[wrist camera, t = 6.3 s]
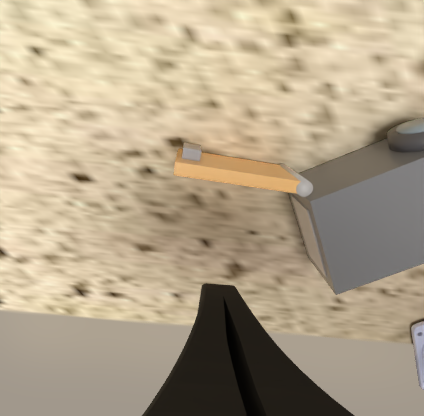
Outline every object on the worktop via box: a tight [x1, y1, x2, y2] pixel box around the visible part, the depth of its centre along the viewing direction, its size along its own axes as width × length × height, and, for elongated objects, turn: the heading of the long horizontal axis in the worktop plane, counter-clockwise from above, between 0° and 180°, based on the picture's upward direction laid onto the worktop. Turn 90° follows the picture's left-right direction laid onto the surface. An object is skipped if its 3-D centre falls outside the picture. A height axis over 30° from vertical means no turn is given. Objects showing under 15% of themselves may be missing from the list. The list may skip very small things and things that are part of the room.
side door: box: [174, 143, 313, 197], centre depth 16 cm, size 8×1×4 cm, turn 80°
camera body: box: [288, 118, 424, 295], centre depth 17 cm, size 8×11×5 cm
